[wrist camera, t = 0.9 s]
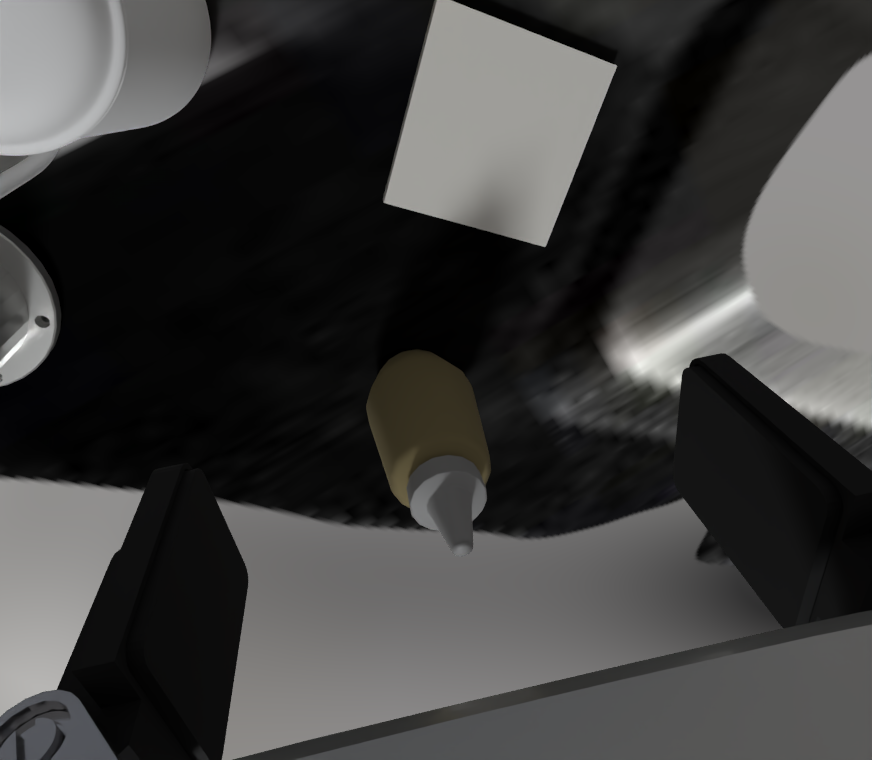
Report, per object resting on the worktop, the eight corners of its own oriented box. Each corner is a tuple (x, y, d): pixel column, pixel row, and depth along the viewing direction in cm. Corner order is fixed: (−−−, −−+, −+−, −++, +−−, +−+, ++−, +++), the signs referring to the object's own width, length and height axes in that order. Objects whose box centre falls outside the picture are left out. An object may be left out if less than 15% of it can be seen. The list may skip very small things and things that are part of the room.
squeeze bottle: (474, 403, 49) (548, 569, 33) (383, 436, 49) (415, 618, 33) (446, 320, 45) (516, 467, 29) (346, 357, 45) (364, 523, 29)
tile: (382, 199, 39) (383, 202, 39) (435, -5, 34) (438, -5, 33) (541, 243, 43) (545, 247, 42) (611, 65, 38) (617, 65, 37)
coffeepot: (-59, 185, 34) (-383, 312, 18) (58, -337, 26) (-369, -967, 10) (135, 266, 39) (9, 428, 23) (294, -157, 30) (271, -386, 14)
